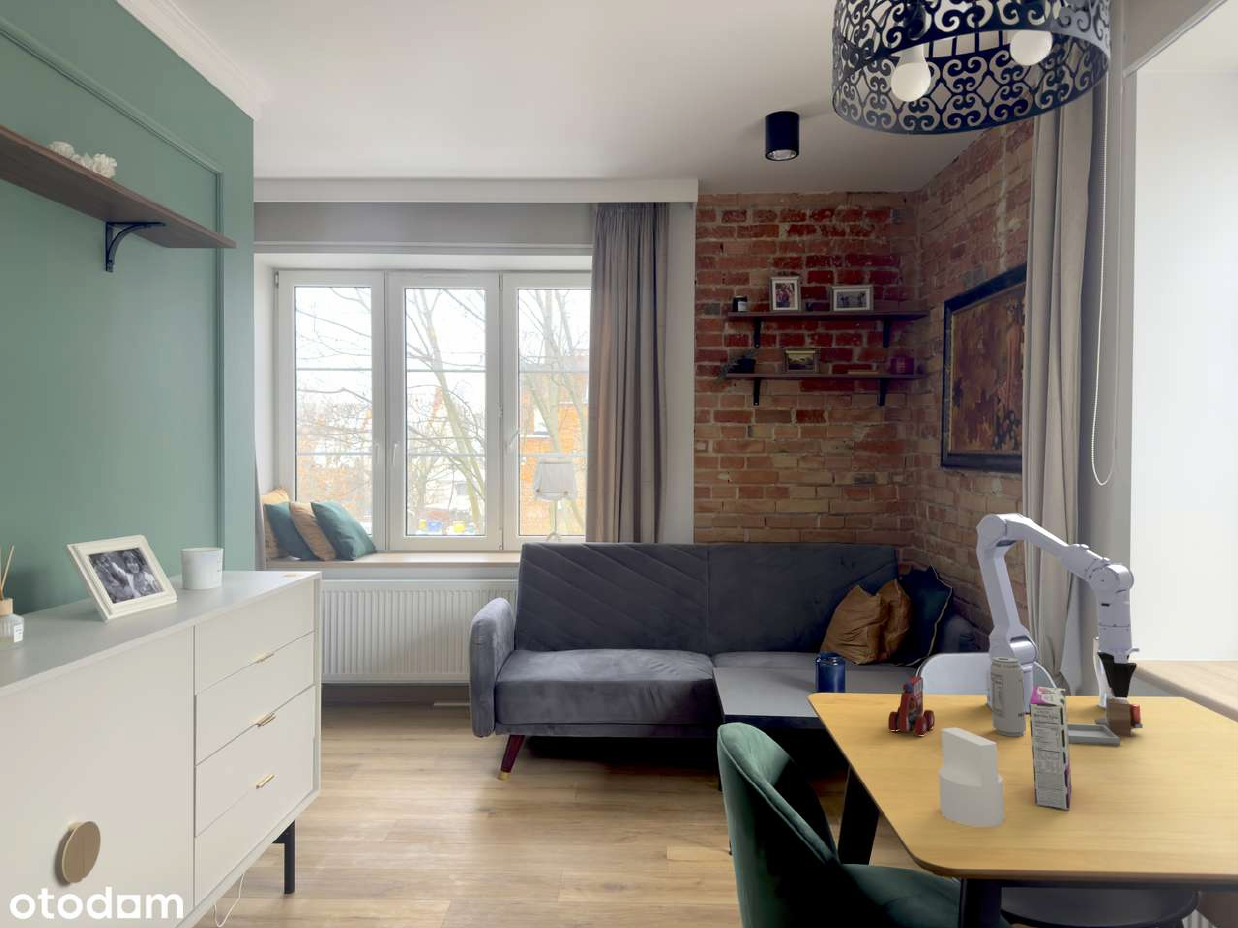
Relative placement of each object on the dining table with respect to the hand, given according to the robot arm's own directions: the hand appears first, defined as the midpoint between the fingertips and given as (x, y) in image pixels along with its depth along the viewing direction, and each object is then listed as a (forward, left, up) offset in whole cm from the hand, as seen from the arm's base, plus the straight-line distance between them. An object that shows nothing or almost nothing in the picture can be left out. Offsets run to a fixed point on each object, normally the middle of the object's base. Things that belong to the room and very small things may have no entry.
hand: (1118, 692), depth 156 cm
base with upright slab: (-35, -48, -8) cm, 60 cm away
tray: (-7, -4, -8) cm, 11 cm away
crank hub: (+1, +7, -8) cm, 10 cm away
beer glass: (+5, +21, -8) cm, 23 cm away
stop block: (0, 0, -8) cm, 8 cm away
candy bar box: (-21, -38, -8) cm, 44 cm away
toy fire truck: (-40, -5, -9) cm, 41 cm away
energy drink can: (-21, -3, -8) cm, 23 cm away
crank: (+2, +4, -7) cm, 8 cm away
